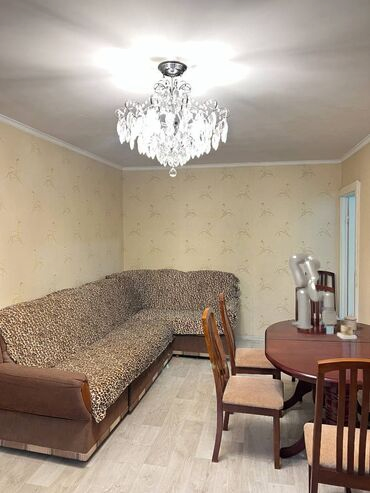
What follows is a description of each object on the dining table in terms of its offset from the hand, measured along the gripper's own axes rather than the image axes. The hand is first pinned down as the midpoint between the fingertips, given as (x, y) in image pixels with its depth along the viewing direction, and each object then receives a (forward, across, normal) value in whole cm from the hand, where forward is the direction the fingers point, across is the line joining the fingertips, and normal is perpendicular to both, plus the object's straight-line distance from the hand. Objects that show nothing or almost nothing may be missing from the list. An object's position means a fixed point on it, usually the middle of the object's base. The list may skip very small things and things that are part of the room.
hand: (329, 332), depth 277 cm
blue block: (+1, 0, 0) cm, 1 cm away
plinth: (+1, +8, -12) cm, 14 cm away
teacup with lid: (+1, +20, +12) cm, 23 cm away
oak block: (-1, +8, -12) cm, 14 cm away
